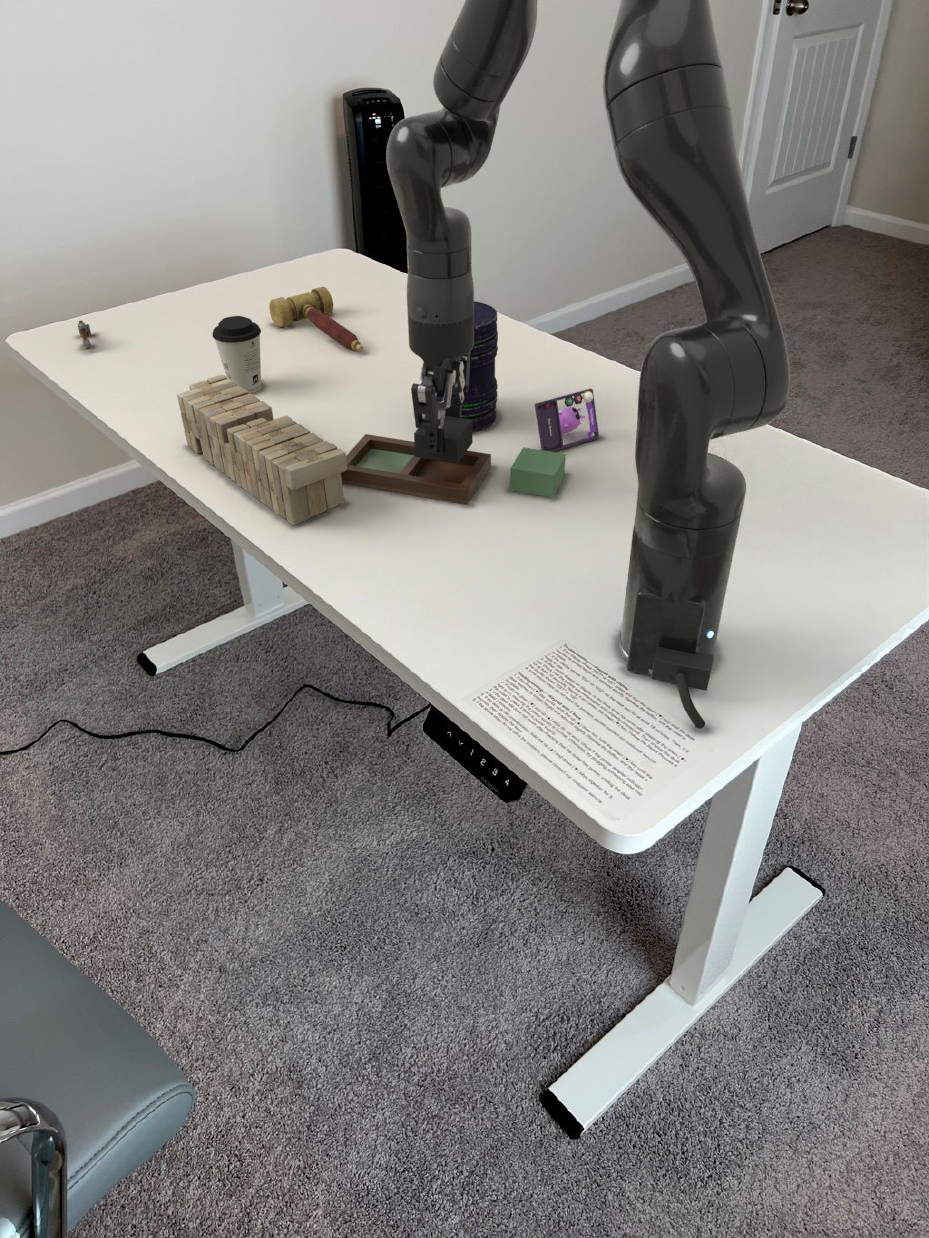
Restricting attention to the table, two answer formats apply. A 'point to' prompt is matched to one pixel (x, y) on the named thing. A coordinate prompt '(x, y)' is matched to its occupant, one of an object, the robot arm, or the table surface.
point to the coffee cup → (240, 351)
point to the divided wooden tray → (413, 470)
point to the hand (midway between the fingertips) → (444, 441)
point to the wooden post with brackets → (84, 333)
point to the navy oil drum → (482, 370)
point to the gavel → (313, 315)
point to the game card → (564, 420)
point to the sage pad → (537, 472)
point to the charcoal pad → (448, 440)
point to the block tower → (262, 449)
